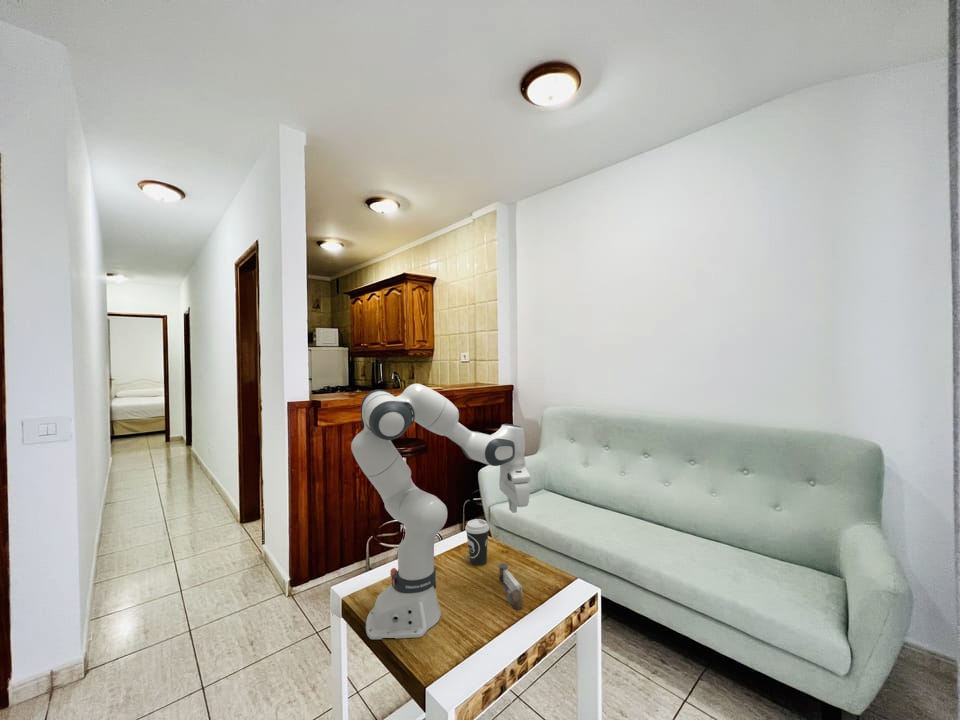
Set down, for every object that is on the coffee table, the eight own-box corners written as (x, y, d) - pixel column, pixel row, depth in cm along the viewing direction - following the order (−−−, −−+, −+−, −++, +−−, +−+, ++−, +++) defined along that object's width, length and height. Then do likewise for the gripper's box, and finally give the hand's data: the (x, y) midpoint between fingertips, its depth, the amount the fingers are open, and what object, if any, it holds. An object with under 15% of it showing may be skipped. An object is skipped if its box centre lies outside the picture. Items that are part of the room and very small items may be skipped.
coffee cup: (488, 568, 143) (486, 529, 144) (463, 567, 145) (462, 527, 146) (492, 556, 153) (491, 518, 153) (469, 554, 155) (468, 517, 155)
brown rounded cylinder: (512, 611, 118) (511, 596, 118) (507, 601, 124) (507, 586, 124) (523, 609, 119) (522, 594, 119) (517, 599, 124) (517, 584, 124)
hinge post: (500, 583, 134) (499, 568, 134) (497, 578, 137) (497, 564, 137) (509, 581, 134) (509, 567, 135) (506, 576, 138) (506, 562, 138)
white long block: (503, 580, 134) (503, 569, 134) (507, 579, 134) (507, 568, 134) (517, 600, 122) (517, 588, 122) (522, 599, 123) (522, 587, 123)
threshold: (510, 600, 124) (510, 599, 124) (502, 585, 133) (502, 584, 133) (517, 599, 124) (517, 598, 124) (509, 584, 133) (509, 583, 133)
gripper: (495, 464, 141) (495, 502, 140) (514, 479, 121) (514, 523, 121) (511, 463, 142) (511, 500, 142) (532, 477, 123) (532, 521, 122)
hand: (513, 511), depth 131 cm, fingers closed
